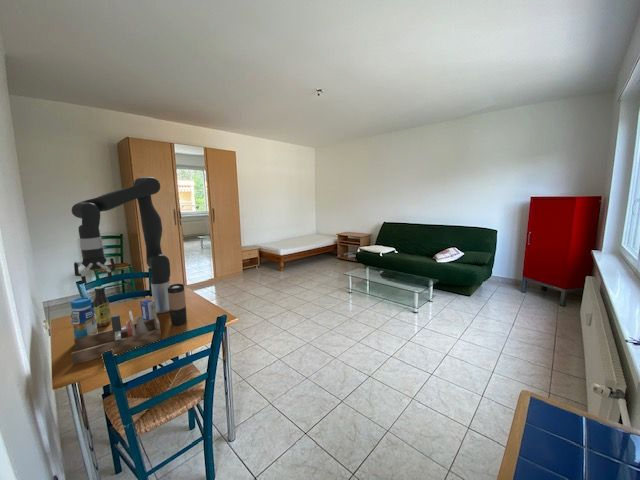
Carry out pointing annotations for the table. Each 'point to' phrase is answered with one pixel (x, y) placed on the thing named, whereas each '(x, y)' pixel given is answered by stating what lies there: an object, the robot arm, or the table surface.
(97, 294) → the sauce bottle
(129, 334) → the kicker
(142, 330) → the flask
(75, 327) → the blue-lidded jar
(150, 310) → the walkman
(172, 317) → the travel mug
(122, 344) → the brown wooden open box
